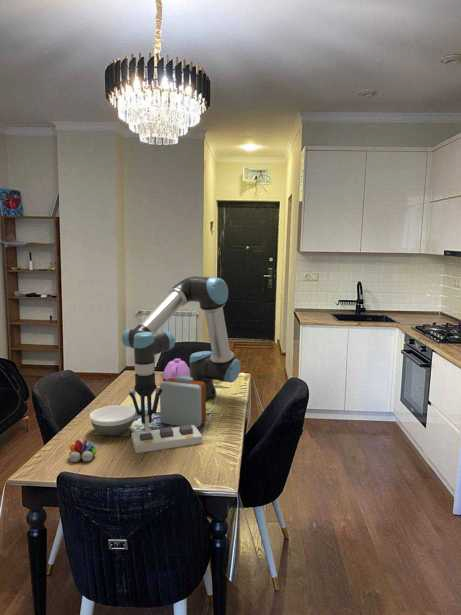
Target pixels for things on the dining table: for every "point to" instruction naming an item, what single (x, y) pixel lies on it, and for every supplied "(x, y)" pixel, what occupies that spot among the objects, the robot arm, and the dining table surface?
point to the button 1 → (146, 436)
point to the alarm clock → (183, 401)
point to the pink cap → (176, 369)
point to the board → (165, 440)
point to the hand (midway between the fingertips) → (146, 430)
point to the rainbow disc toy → (82, 451)
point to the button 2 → (186, 429)
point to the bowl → (112, 419)
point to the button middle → (166, 432)
